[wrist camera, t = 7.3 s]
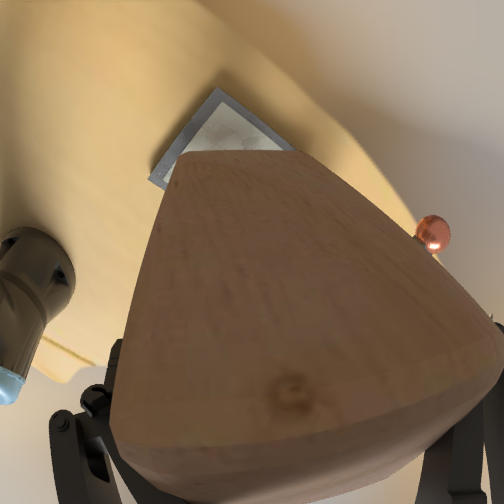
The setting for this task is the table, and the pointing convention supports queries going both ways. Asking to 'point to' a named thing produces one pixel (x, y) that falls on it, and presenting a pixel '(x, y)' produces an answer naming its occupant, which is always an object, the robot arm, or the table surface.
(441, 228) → the lever
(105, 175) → the table surface
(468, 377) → the wooden block
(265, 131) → the press
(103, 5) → the table surface
